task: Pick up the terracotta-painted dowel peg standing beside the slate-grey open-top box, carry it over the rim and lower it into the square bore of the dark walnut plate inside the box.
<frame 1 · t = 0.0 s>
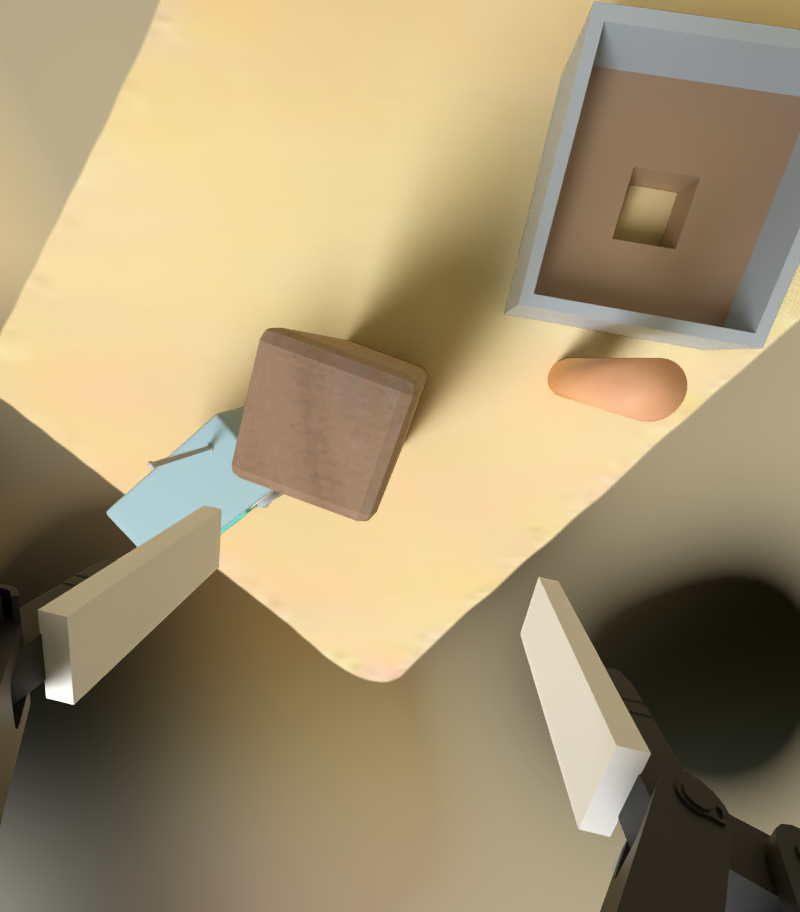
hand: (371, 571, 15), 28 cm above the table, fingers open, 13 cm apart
bore box: (637, 221, 35), on the table
radio: (255, 466, 45), on the table
wooden block: (372, 397, 42), on the table
peg: (567, 377, 39), on the table
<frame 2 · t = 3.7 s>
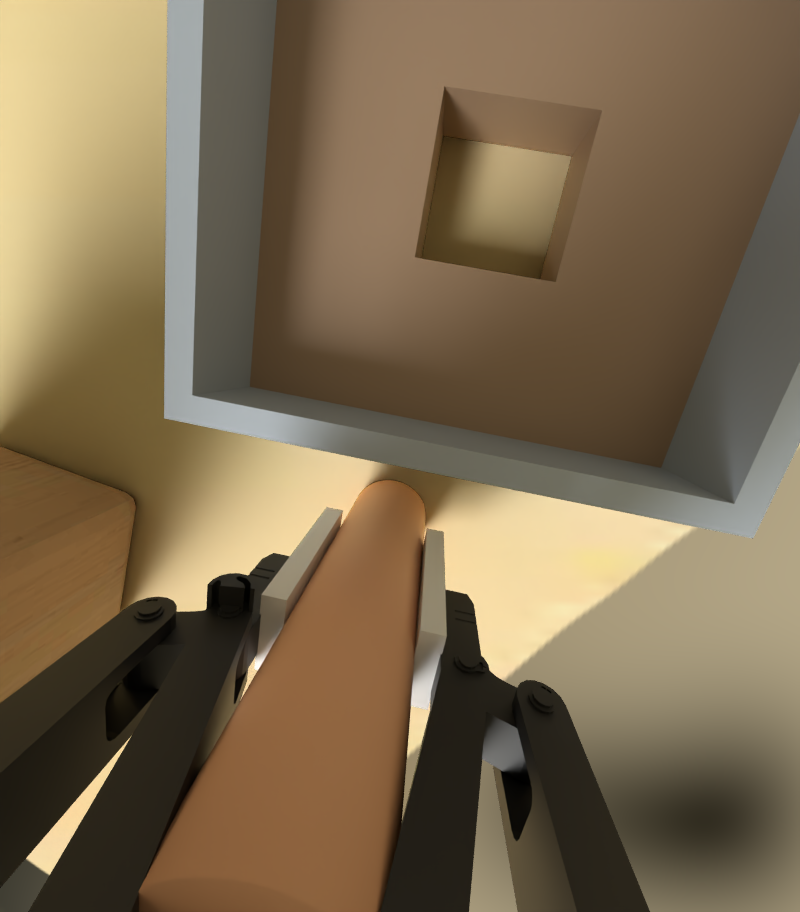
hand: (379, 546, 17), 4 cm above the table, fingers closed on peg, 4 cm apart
bore box: (491, 218, 16), on the table
wooden block: (63, 533, 23), on the table
peg: (389, 514, 21), on the table, touching gripper
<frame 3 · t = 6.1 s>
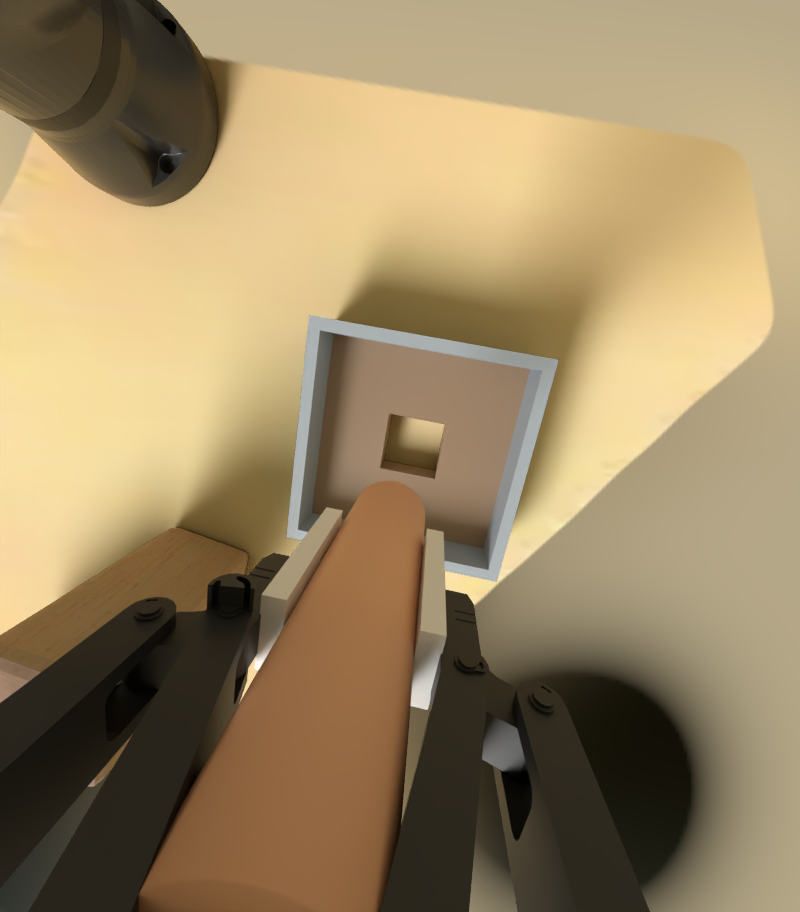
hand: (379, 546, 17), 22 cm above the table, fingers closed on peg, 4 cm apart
bore box: (414, 440, 39), on the table
wooden block: (207, 570, 46), on the table
peg: (389, 514, 21), point 19 cm above the table, touching gripper
when the fingers open (5 cm above the table, at t = 8.9 s): peg drops 1 cm, resting in bore box.
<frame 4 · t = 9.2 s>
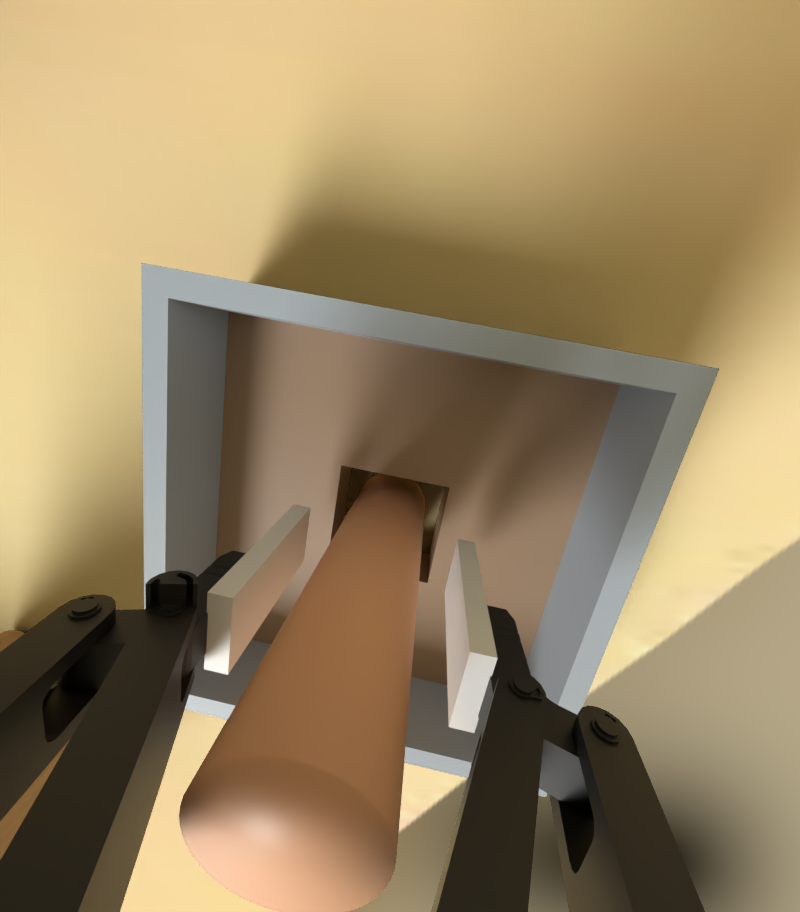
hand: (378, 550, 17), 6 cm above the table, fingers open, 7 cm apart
bore box: (392, 504, 22), on the table
wooden block: (70, 690, 29), on the table
peg: (391, 504, 22), resting in bore box
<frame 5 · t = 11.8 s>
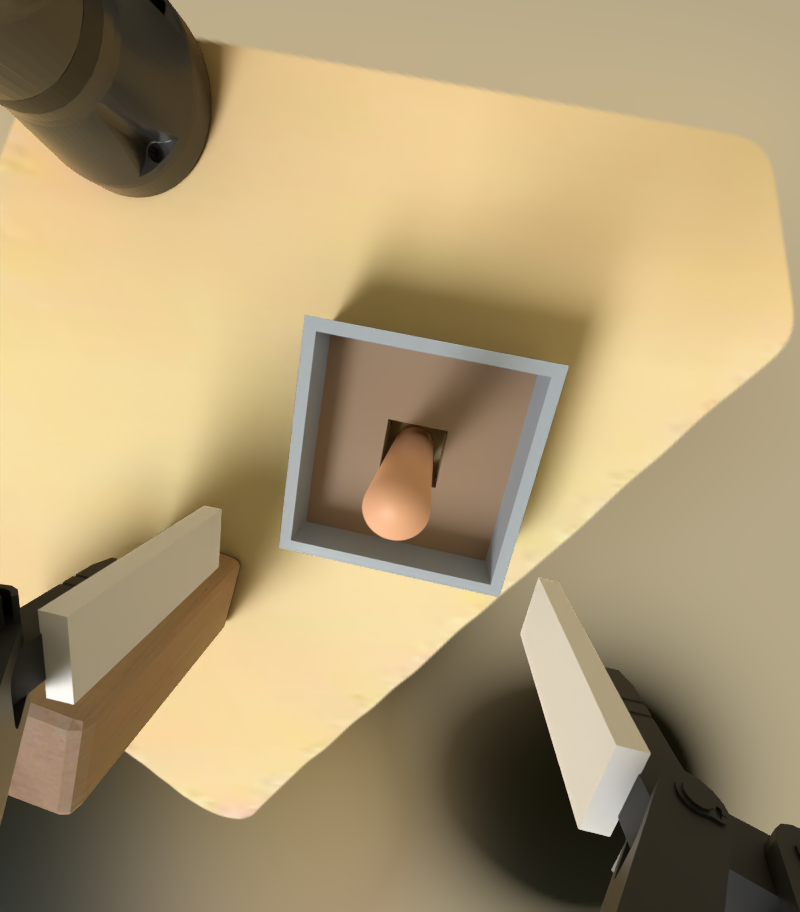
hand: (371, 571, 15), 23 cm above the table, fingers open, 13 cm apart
bore box: (414, 446, 37), on the table
wooden block: (197, 577, 44), on the table
peg: (413, 446, 37), resting in bore box
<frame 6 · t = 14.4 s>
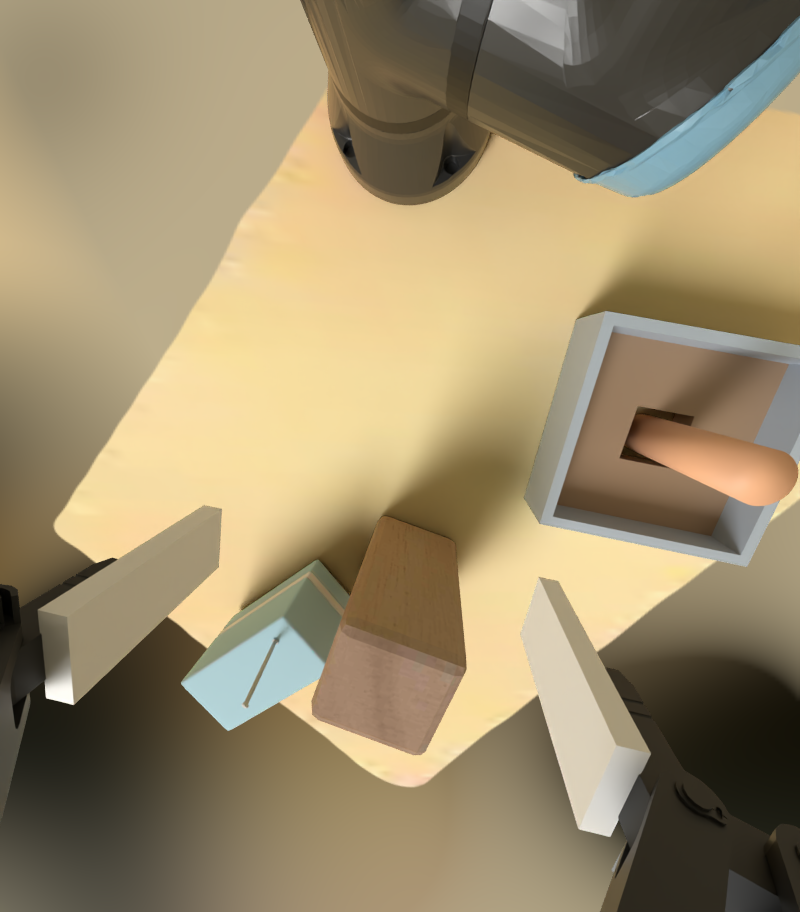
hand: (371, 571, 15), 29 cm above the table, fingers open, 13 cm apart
bore box: (640, 432, 40), on the table
radio: (298, 607, 51), on the table
wooden block: (406, 557, 47), on the table
peg: (639, 432, 40), resting in bore box
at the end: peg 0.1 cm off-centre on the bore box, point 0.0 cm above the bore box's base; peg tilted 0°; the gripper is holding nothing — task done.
